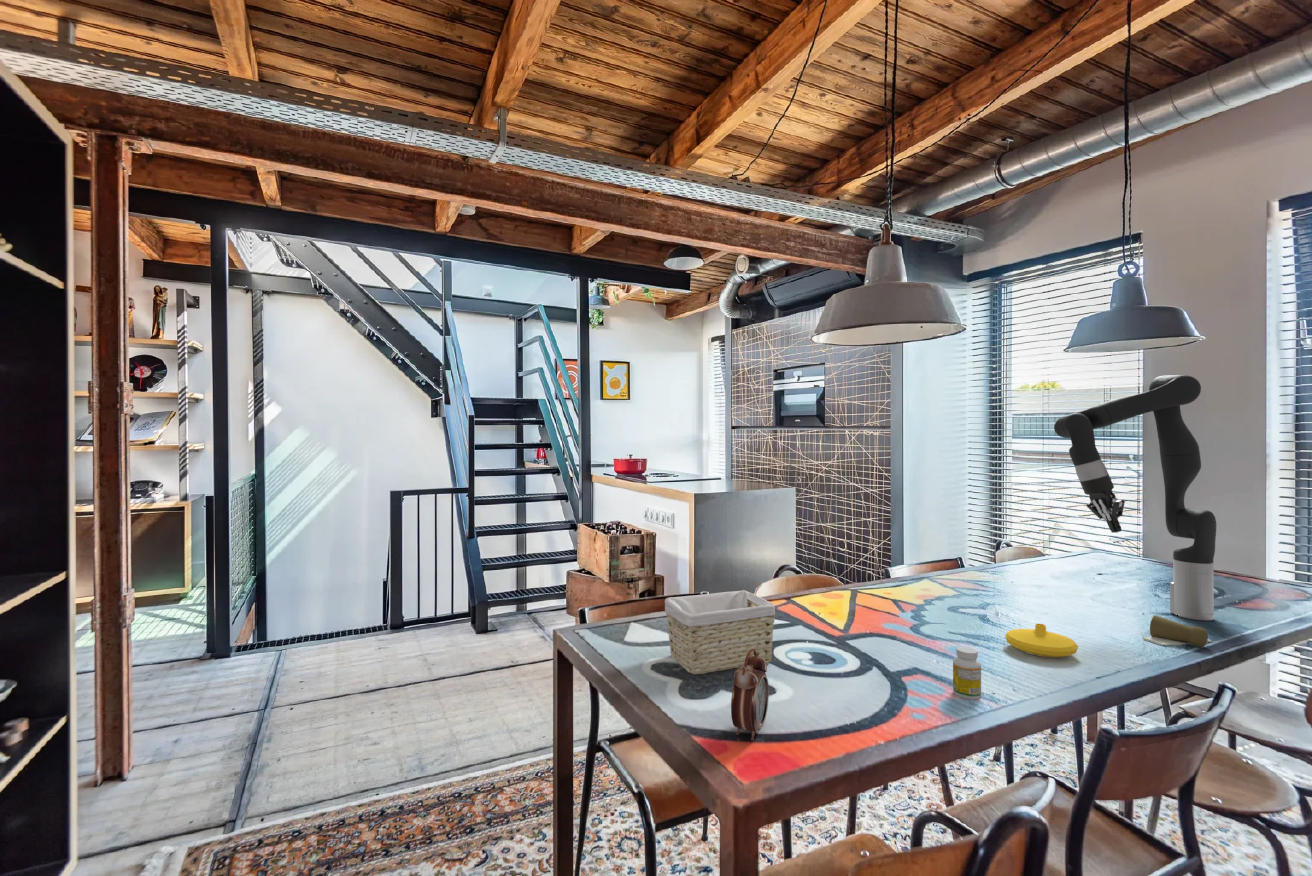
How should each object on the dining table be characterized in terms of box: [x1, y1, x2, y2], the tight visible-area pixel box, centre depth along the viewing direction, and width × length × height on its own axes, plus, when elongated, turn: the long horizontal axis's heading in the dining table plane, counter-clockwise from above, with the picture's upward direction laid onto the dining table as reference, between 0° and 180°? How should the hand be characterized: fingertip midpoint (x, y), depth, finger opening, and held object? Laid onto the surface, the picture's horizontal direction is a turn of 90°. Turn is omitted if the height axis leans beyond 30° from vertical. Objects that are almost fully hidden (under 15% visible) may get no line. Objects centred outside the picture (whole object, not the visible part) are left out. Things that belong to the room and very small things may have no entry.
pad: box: [1142, 636, 1213, 646], centre depth 160 cm, size 6×16×1 cm, turn 101°
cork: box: [1149, 614, 1209, 648], centre depth 159 cm, size 6×6×11 cm
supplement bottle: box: [952, 646, 982, 701], centre depth 126 cm, size 5×5×10 cm
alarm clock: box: [730, 649, 770, 742], centre depth 110 cm, size 11×5×15 cm, turn 155°
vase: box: [1004, 623, 1079, 658], centre depth 152 cm, size 16×16×7 cm
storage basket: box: [664, 589, 776, 675], centre depth 146 cm, size 24×16×15 cm
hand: (1116, 531), depth 177 cm, fingers closed
